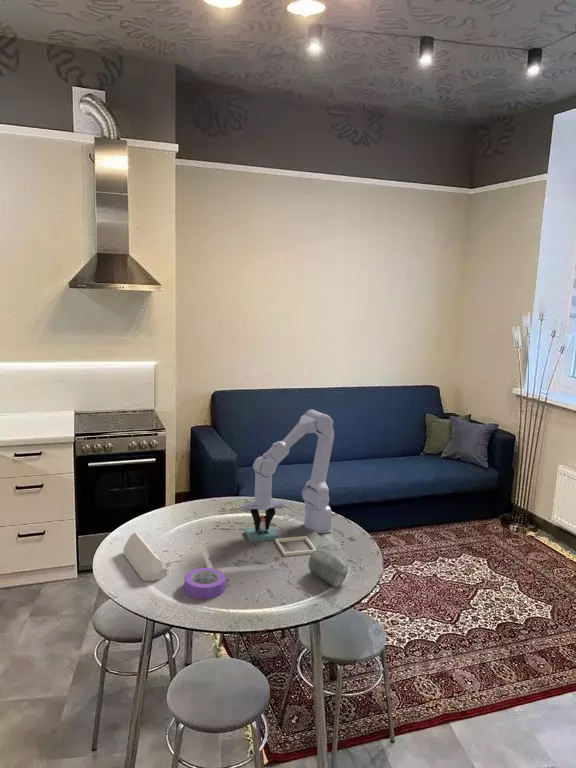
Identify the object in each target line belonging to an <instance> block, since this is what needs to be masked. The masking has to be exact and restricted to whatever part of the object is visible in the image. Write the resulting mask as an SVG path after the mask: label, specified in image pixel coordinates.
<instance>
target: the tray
mask: <svg viewBox="0 0 576 768" xmlns="http://www.w3.org/2000/svg"><path fill="white" fill-rule="evenodd" d="M296 541H305V542H306V543H307V544H308V546H309V547H310V548H311V549H308V550H295V551H285V550H284V548H283V546H282V544H281V543H286V542H296ZM274 543H275V544H276V545H277V547H278V549H279V551H280V552H281V553H282V555H283V557H291V556H293V557H294V556H301V555H312V553H313V552H314V551H315V550H317V549H318V548H316V547H315V546H314V544H313V543H312V541H311V540H310V539H309V538H308V537H307V535H304V536H294V537H293V536H291V537H281V538H278V539H275V540H274Z"/></svg>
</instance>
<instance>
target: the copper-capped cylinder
mask: <svg viewBox="0 0 576 768" xmlns="http://www.w3.org/2000/svg"><path fill="white" fill-rule="evenodd" d="M266 519H267V516H266V514H265V515H264V514H260V515H259V529H258V531H257V535H259V534H266Z"/></svg>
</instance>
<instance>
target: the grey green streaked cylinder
mask: <svg viewBox="0 0 576 768" xmlns="http://www.w3.org/2000/svg"><path fill="white" fill-rule="evenodd" d="M316 549H317V550H315V551H314V552H313V553H312V554H310V557H309V560H308V569H309V571H310V573H311V574H313V575H315V576H316V577H318V578H320V579H321V580H323V581H324V582H326V583H327V584H329V585H330V586H332V587H339V586H341V585H342V584H343V583H344V581H345V580H346V578H347V574H348V566H347V564H346V562H345V561H344V560H343V559H342V558H341V557H339V556H338V555H336V554H334V553H332V552H330V551H329V550H325V549H323V548H316Z"/></svg>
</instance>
